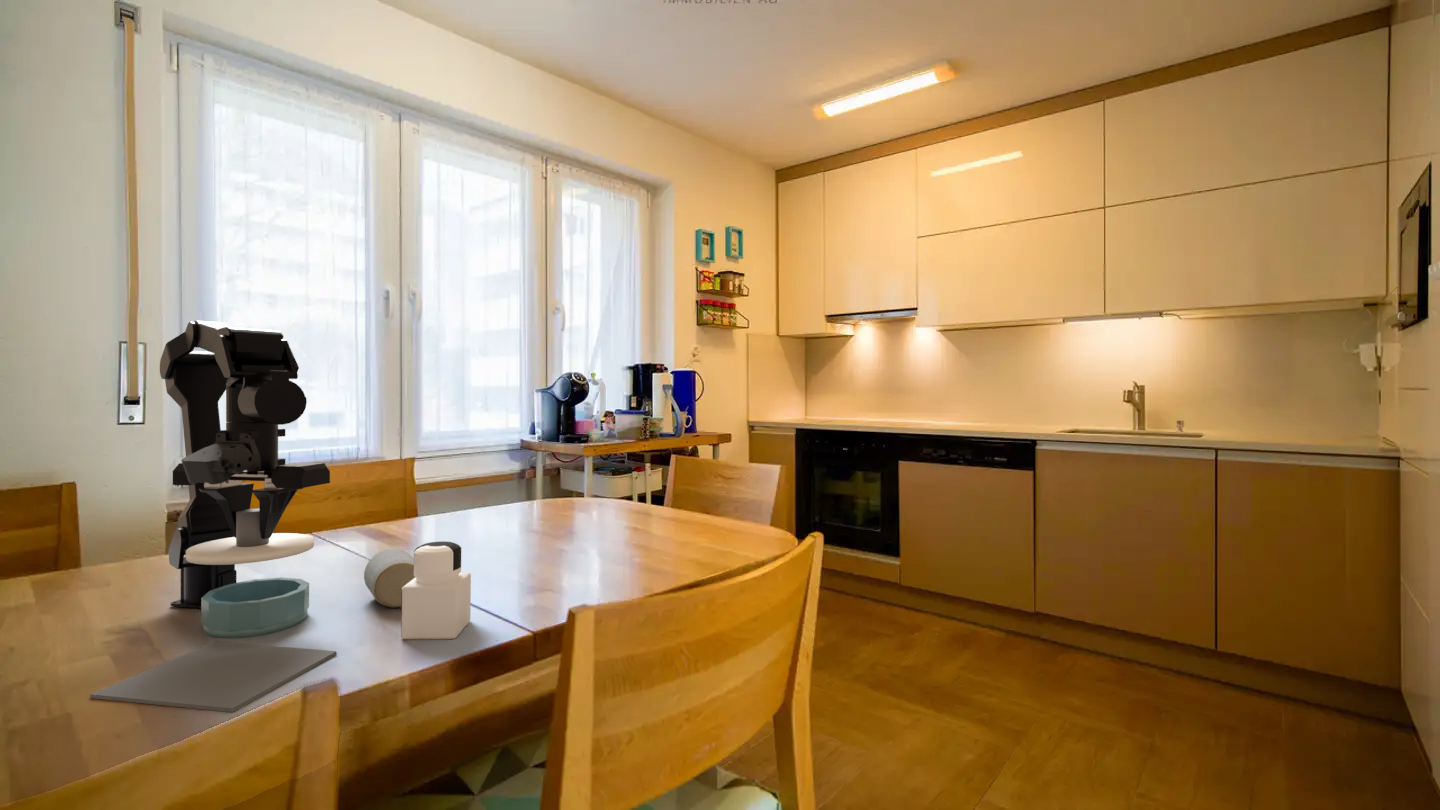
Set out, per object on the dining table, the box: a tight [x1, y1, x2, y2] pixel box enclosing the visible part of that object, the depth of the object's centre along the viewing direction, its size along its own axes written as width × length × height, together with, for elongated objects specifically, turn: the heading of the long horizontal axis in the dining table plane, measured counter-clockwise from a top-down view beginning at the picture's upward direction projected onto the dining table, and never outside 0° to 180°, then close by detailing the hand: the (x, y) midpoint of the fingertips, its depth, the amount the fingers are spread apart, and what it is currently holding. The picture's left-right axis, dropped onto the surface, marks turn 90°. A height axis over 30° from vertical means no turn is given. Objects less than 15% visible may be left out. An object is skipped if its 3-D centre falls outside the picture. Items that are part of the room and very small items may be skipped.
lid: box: [185, 507, 315, 565], centre depth 89 cm, size 14×14×6 cm
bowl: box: [200, 577, 310, 639], centre depth 93 cm, size 12×12×4 cm
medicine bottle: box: [400, 541, 472, 640], centre depth 91 cm, size 7×7×12 cm
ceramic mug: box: [363, 548, 415, 609], centre depth 104 cm, size 11×8×8 cm
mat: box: [89, 640, 337, 713], centre depth 76 cm, size 17×15×1 cm
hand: (252, 538), depth 89 cm, fingers closed on lid, 4 cm apart
